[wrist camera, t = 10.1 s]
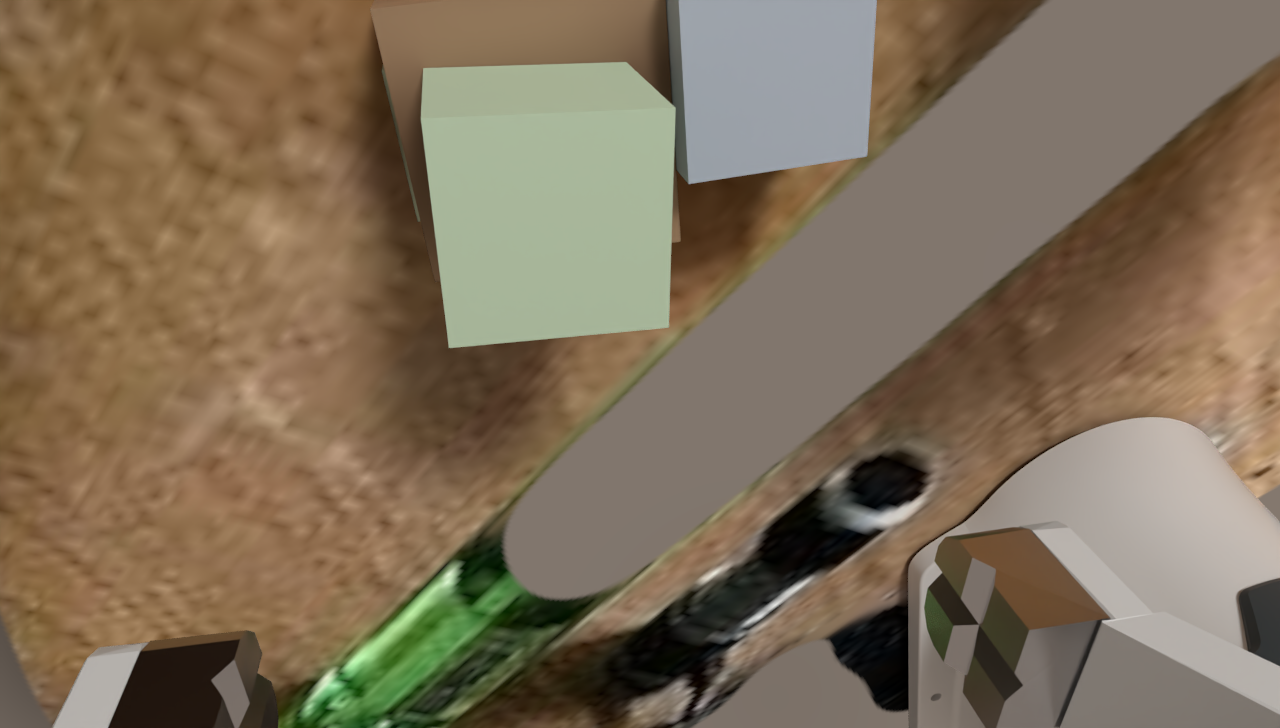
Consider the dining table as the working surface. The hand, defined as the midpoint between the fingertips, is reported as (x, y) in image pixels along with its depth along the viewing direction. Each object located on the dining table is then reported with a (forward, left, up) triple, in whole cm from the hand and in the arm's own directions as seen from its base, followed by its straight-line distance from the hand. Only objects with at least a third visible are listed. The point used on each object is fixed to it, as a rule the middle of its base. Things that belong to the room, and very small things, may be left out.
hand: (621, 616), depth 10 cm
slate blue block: (+4, -7, -18) cm, 20 cm away
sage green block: (+1, 0, -15) cm, 15 cm away
